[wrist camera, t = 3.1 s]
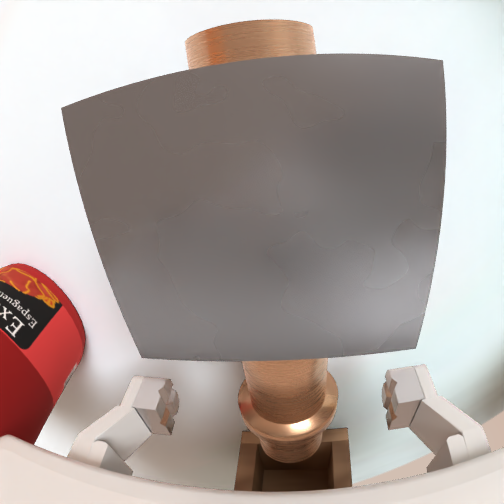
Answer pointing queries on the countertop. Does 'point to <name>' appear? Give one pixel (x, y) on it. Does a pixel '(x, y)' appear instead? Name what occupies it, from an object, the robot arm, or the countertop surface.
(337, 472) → the socket
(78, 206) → the countertop surface
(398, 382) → the robot arm
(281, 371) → the tube
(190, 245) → the sleeve
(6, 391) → the canned food
